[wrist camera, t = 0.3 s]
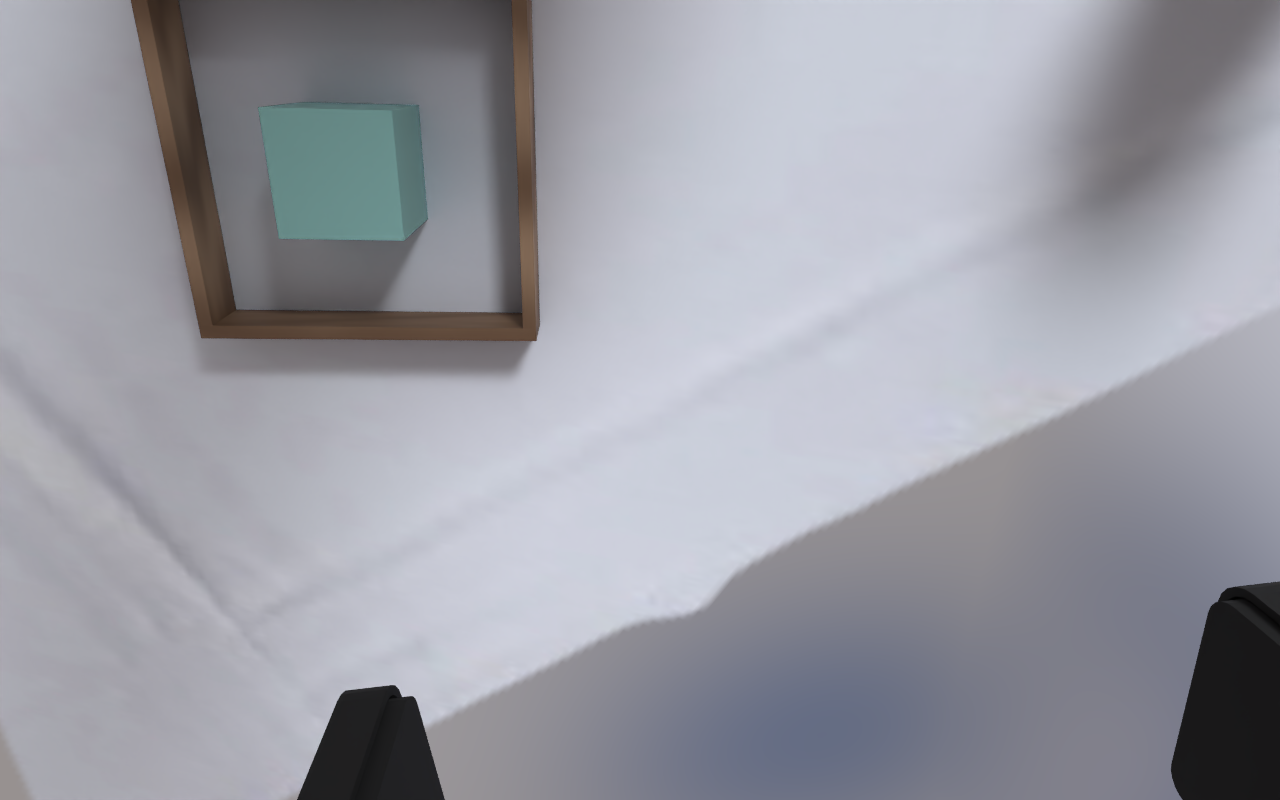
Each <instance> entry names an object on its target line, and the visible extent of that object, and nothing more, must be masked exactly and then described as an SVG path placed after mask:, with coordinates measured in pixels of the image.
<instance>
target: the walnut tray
mask: <svg viewBox="0 0 1280 800" xmlns="http://www.w3.org/2000/svg"><path fill="white" fill-rule="evenodd" d="M131 3H132V8H133V13H134V18H135V22H136V27H137V32H138V37H139V42H140V46H141V51H142V56H143V61H144V66H145V70H146V75H147V80H148V85H149V90H150V94H151V99H152V104H153V109H154V114H155V118H156V123H157V128H158V133H159V137H160V142H161V147H162V152H163V157H164V161H165V166H166V171H167V176H168V181H169V185H170V190H171V195H172V200H173V205H174V209H175V214H176V219H177V224H178V228H179V233H180V238H181V243H182V248H183V252H184V257H185V262H186V267H187V272H188V276H189V281H190V286H191V291H192V296H193V300H194V305H195V310H196V315H197V319H198V324H199V329H200V334H201V338H241V339H363V340H485V341H536V340H537V335H538V331H539V326H540V313H539V274H538V235H537V196H536V157H535V118H534V79H533V40H532V1H531V0H512V28H513V57H514V86H515V115H516V143H517V172H518V201H519V230H520V258H521V287H522V313H487V312H390V311H293V310H236V307H235V302H234V296H233V291H232V286H231V280H230V275H229V270H228V264H227V259H226V254H225V248H224V243H223V237H222V232H221V227H220V221H219V216H218V211H217V205H216V200H215V195H214V189H213V184H212V179H211V173H210V168H209V163H208V157H207V152H206V147H205V141H204V136H203V131H202V125H201V120H200V115H199V109H198V104H197V99H196V93H195V88H194V83H193V77H192V72H191V67H190V61H189V56H188V50H187V45H186V40H185V34H184V29H183V24H182V18H181V13H180V8H179V2H178V0H131Z"/></svg>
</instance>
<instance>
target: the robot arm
mask: <svg viewBox="0 0 1280 800" xmlns="http://www.w3.org/2000/svg"><path fill="white" fill-rule="evenodd" d="M1171 773H1172V779H1173V781H1174V785H1175V787H1176V789H1177V791H1178V793H1179V795H1180V796H1181V798H1182V799H1183V800H1280V582H1273V583H1263V584H1255V585H1246V586H1238V587H1232V588H1227V589H1226V590H1225V591H1224V592H1223V593H1222V594H1221V596H1220V598H1219V600H1218V602H1216V603H1214V604H1213V605H1212V606H1211V608H1210V610H1209V612H1208V616H1207V620H1206V624H1205V628H1204V633H1203V636H1202V640H1201V645H1200V649H1199V653H1198V657H1197V661H1196V665H1195V669H1194V674H1193V678H1192V682H1191V686H1190V690H1189V694H1188V698H1187V702H1186V706H1185V711H1184V714H1183V719H1182V723H1181V727H1180V731H1179V735H1178V739H1177V744H1176V747H1175V752H1174V756H1173V760H1172V764H1171ZM297 800H445V799H444V796H443V792H442V788H441V785H440V782H439V778H438V774H437V771H436V767H435V764H434V760H433V757H432V753H431V750H430V746H429V743H428V740H427V736H426V732H425V729H424V725H423V722H422V718H421V715H420V711H419V708H418V704H417V702H416V699H415V698H414V697H413V696H409V697H402V696H401V694H400V691H399V689H398V688H397V687H396V686H394V685H390V686H382V687H373V688H364V689H356V690H347V691H345V692H343V693H342V694H341V696H340V697H339V699H338V701H337V703H336V706H335V708H334V711H333V713H332V716H331V718H330V720H329V723H328V725H327V728H326V730H325V733H324V735H323V738H322V740H321V742H320V745H319V747H318V750H317V752H316V755H315V757H314V760H313V762H312V764H311V767H310V769H309V772H308V774H307V777H306V779H305V782H304V784H303V787H302V789H301V791H300V794H299V796H298V799H297Z"/></svg>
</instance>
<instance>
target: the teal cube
mask: <svg viewBox="0 0 1280 800" xmlns="http://www.w3.org/2000/svg"><path fill="white" fill-rule="evenodd" d="M258 111H259V117H260V123H261V130H262V136H263V142H264V149H265V155H266V161H267V167H268V174H269V180H270V186H271V193H272V199H273V205H274V211H275V218H276V224H277V230H278V236H279V239H323V240H390V241H404V240H405V239H406V238H408V237H409V236H410V235H411V234H412V233H413V232H414V231H415V230H416V229H417V228H419V227H420V226H421V225H422V224H423V223H424V222H425V221H426V220H427V219H428V215H427V203H426V191H425V179H424V166H423V154H422V142H421V130H420V117H419V105H399V104H360V103H321V102H299V103H290V104H282V105H273V106H265V107H258Z"/></svg>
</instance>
